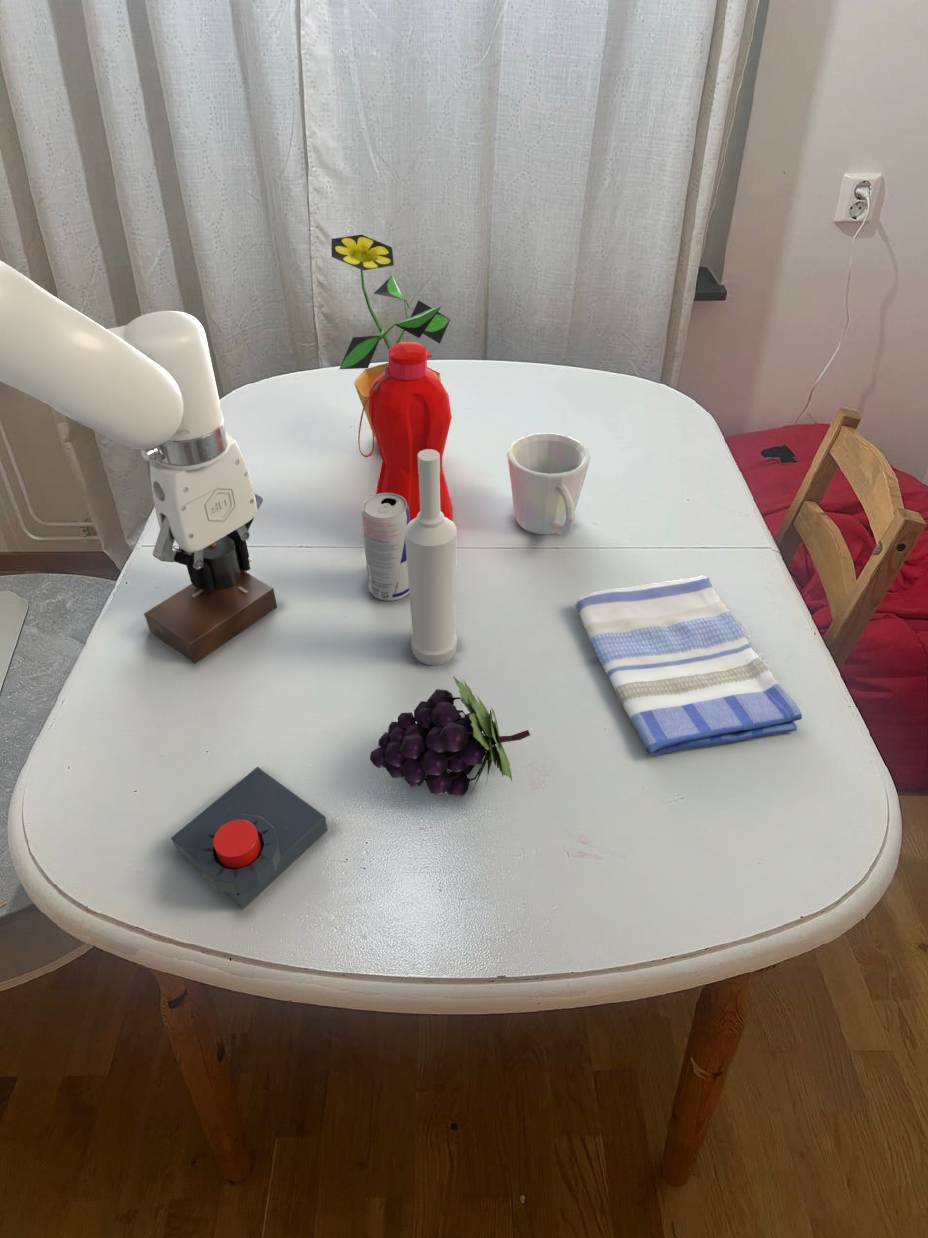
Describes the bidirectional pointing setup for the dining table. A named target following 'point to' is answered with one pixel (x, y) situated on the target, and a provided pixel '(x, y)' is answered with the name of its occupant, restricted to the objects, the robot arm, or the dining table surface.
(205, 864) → the button box
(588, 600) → the dish towel
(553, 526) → the mug
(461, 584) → the dining table surface
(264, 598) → the console
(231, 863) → the plunger
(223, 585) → the dial
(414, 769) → the fruit
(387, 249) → the potted plant
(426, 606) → the bottle
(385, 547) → the energy drink
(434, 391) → the water bottle
